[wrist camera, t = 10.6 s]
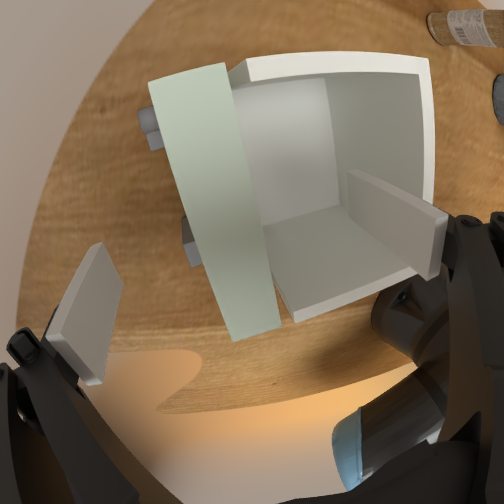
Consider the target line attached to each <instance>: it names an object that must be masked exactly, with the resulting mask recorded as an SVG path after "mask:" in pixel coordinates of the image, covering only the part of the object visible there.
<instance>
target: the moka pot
mask: <svg viewBox="0 0 504 504" xmlns="http://www.w3.org/2000/svg"><path fill="white" fill-rule="evenodd" d="M493 104H494V110H495V114H496V117H497V119H498V121H499V122H500V124H501V125H504V75H499V76H498V78H497V79H496V81H495V84H494V92H493Z"/></svg>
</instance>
